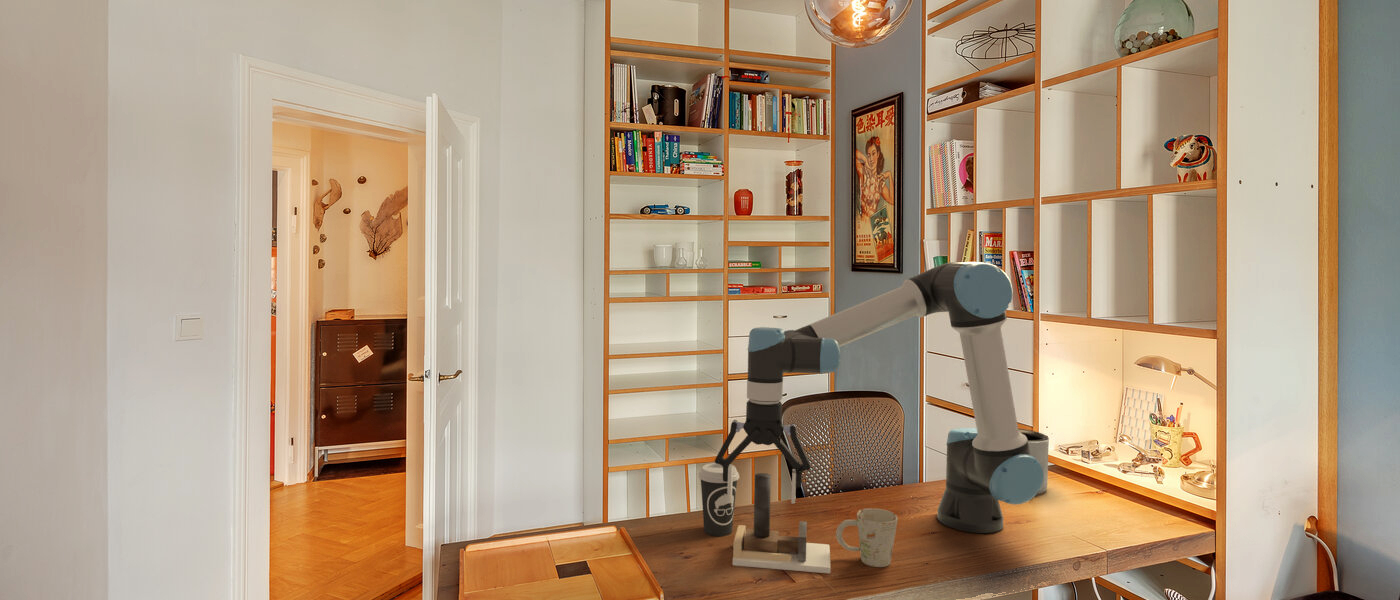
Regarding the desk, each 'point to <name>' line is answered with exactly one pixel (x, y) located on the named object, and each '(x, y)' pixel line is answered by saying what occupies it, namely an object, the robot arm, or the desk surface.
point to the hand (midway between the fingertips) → (761, 499)
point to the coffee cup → (717, 500)
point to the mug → (872, 535)
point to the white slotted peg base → (781, 557)
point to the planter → (1038, 452)
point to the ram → (761, 534)
